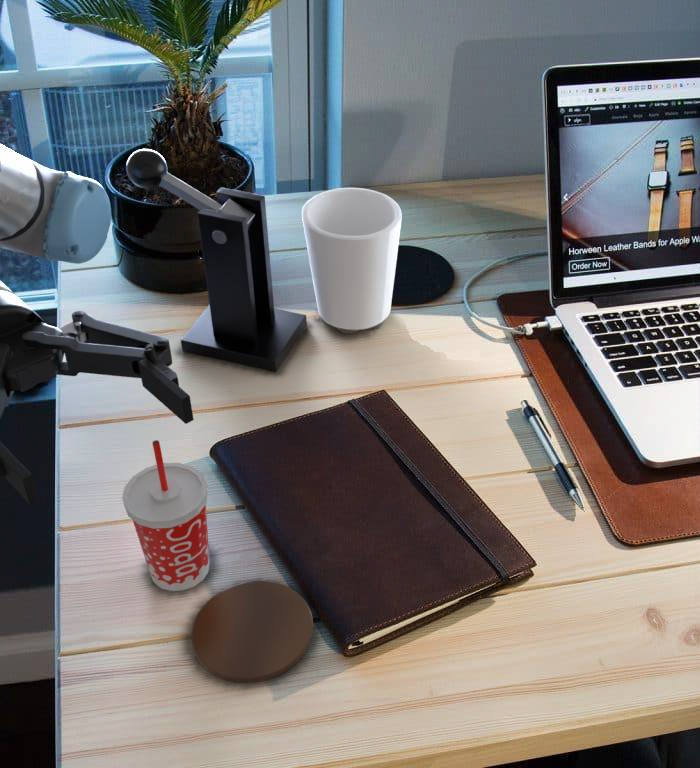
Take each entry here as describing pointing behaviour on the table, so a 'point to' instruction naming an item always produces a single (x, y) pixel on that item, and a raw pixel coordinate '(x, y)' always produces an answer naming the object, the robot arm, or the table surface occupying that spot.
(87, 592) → the table surface
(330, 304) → the cup
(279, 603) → the coaster
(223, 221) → the switch bracket
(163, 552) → the beverage cup
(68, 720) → the table surface
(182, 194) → the switch lever
